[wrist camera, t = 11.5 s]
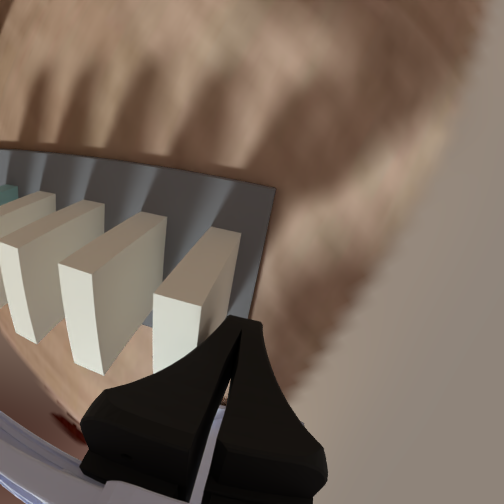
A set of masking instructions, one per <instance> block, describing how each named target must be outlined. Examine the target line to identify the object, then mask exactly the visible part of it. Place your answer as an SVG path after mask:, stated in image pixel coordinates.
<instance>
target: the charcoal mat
mask: <svg viewBox="0 0 504 504" xmlns="http://www.w3.org/2000/svg"><path fill="white" fill-rule="evenodd" d="M5 184H7V185H13V186H18V198H21V197H24V196H26V195H29V194H32V193H35V192H37V191H43V192H49V193H54V194H56V211H58V210H60V209H63V208H65V207H67V206H70V205H72V204H74V203H77V202H79V201H81V200H89V201H93V202H98V203H103V204H105V215H104V233H105V232H107V231H109V230H110V229H112V228H114V227H115V226H117V225H119V224H120V223H122V222H123V221H125V220H127V219H129V218H130V217H132V216H134V215H135V214H137V213H139V212H140V211H142V212H146V213H151V214H156V215H160V216H165V217H167V227H166V238H165V250H164V264H163V280H162V282H163V281H164V280H165V279H166V278H167V276H168V275H169V274H170V273H171V272H172V271H173V269H174V268H175V267H176V266H177V265H178V264H179V262H180V261H181V260H182V259H183V258H184V257H185V255H186V254H187V253H188V252H189V251H190V250H191V248H192V247H193V246H194V245H195V244H196V243H197V242H198V240H199V239H200V238H201V237H202V236H203V235H204V234H205V233H206V231H207V230H208V229H209V228H210V227H216V228H220V229H225V230H229V231H234V232H238V233H241V239H240V244H239V250H238V255H237V261H236V266H235V272H234V277H233V283H232V288H231V294H230V299H229V305H228V311H227V315H226V317H227V316H229V315H234V316H238V317H242V318H246V319H248V315H249V311H250V306H251V302H252V297H253V293H254V288H255V284H256V279H257V274H258V270H259V265H260V261H261V256H262V252H263V247H264V242H265V238H266V233H267V228H268V224H269V219H270V214H271V210H272V205H273V200H274V196H275V191H276V188H272V187H268V186H263V185H258V184H254V183H249V182H244V181H239V180H234V179H229V178H224V177H219V176H213V175H208V174H203V173H197V172H191V171H186V170H180V169H174V168H168V167H162V166H155V165H149V164H142V163H135V162H128V161H121V160H114V159H106V158H98V157H90V156H81V155H72V154H62V153H52V152H41V151H29V150H15V149H0V186H2V185H5ZM142 325H146V326H149V327H152V328H153V309H152V311H151V312H150V313H149V315H148V316H147V317H146V319H145V320H144V321H143V323H142Z"/></svg>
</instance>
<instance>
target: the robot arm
mask: <svg viewBox="0 0 504 504" xmlns="http://www.w3.org/2000/svg"><path fill="white" fill-rule="evenodd" d="M230 379H231V381H230ZM229 381H230V387H229V393H228V400H227V405H226V406H223V405H220V403H221V401H222V399H223V396H224V394H225V391H226V389H227V386H228V384H229ZM80 426H81V430H82V433H83V435H84V438H85V440H86V443H87V445H88V447H89V450H88V452H87V454H86V455H85V457H84V459H83V461H80V460H78V459H76V458H74V457H72V456H71V455H69V454H67V453H65V452H63V451H61V450H60V449H58V448H56V447H55V446H53V445H51V444H49V443H48V442H46V441H44V440H43V439H41V438H40V437H38V436H36V435H35V434H33V433H32V432H30V431H29V430H27V429H26V428H24V427H22V426H21V425H20V424H18V423H17V422H15V421H14V420H12V419H11V418H10V417H8V416H7V415H6V414H4V413H3V412H1V411H0V484H1V485H2V486H3V487H5V488H6V489H7V490H9V491H10V492H11V493H13V494H14V495H15V496H16V497H18V498H19V499H20V500H22V501H23V502H24V503H26V504H313V496H314V495H315V494H316V493H317V492H318V491H319V490H320V489H321V488H322V487H323V486H324V485H325V484H326V482H327V477H328V469H327V462H326V457H325V452H324V448H323V447H322V446H321V444H320V443H319V442H317V440H316V439H315V438H314V437H313V436H312V435H311V434H310V433H309V432H308V431H307V429H306V428H305V427H304V423H303V422H301V421H300V420H299V419H298V417H297V416H296V414H295V413H294V411H293V410H292V408H291V407H290V405H289V404H288V402H287V400H286V399H285V397H284V395H283V393H282V391H281V389H280V387H279V385H278V383H277V381H276V378H275V376H274V373H273V370H272V368H271V365H270V362H269V359H268V355H267V351H266V347H265V343H264V337H263V325H262V323H261V322H259V321H254V320H250V319H246V318H242V317H238V316H234V315H229V316H227V317H226V318H225V320H224V321H223V322H222V323H221V325H220V326H219V327H218V328H217V329H216V330H215V331H214V332H213V333H212V334H211V335H210V336H209V337H208V338H207V339H206V340H204V341H203V342H202V343H201V344H200V345H198V346H197V347H196V348H195V349H193V350H192V351H191V352H190V353H188V354H187V355H185V356H184V357H183V358H181V359H180V360H178V361H176V362H175V363H173V364H171V365H170V366H168V367H166V368H164V369H162V370H160V371H158V372H156V373H154V374H152V375H150V376H147V377H145V378H142V379H140V380H137V381H135V382H132V383H129V384H125V385H122V386H118V387H114V388H110V389H105V390H104V391H103V392H102V393H101V394H100V395H99V396H98V397H97V398H96V399H95V401H94V402H93V403H92V404H91V406H90V407H89V409H88V410H87V412H86V413H85V415H84V416H83V418H82V419H81V422H80Z"/></svg>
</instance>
